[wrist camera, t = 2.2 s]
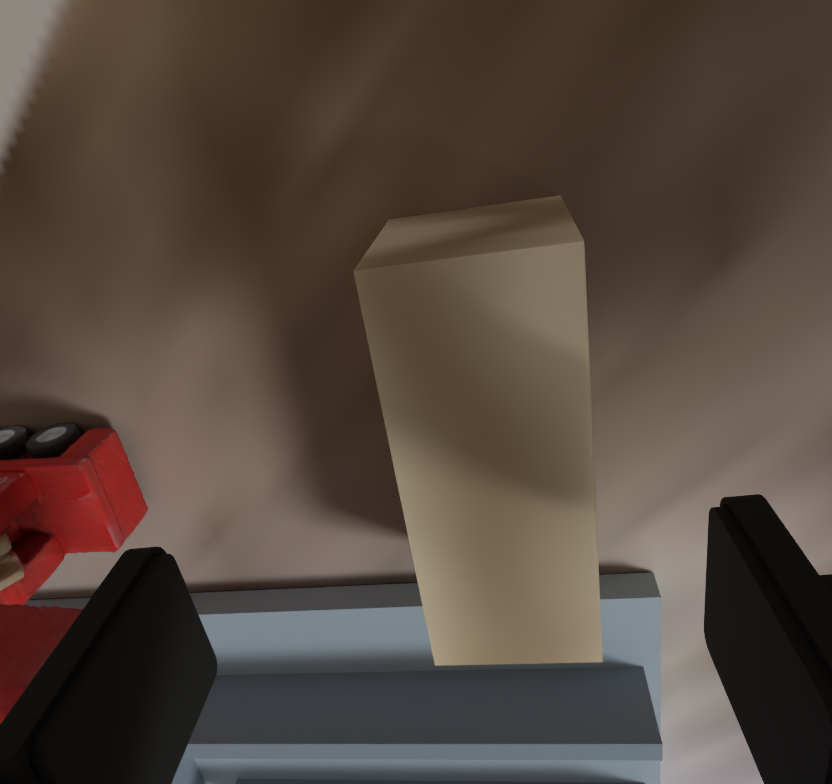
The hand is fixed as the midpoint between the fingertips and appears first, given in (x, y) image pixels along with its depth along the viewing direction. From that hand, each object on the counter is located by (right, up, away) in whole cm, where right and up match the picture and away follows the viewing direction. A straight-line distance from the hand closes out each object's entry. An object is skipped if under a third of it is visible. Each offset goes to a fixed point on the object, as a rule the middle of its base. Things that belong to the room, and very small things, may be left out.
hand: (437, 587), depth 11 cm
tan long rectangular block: (+2, +3, +6) cm, 7 cm away
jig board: (-4, -9, +13) cm, 16 cm away
